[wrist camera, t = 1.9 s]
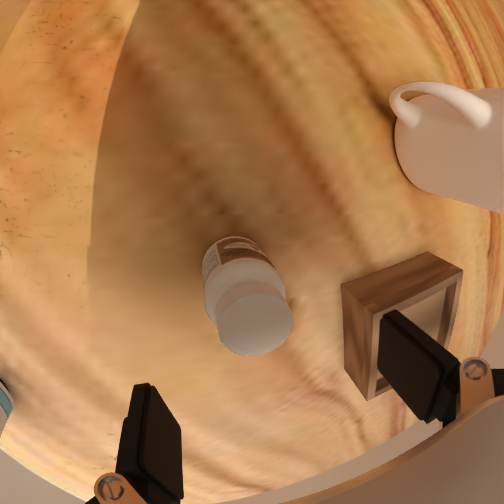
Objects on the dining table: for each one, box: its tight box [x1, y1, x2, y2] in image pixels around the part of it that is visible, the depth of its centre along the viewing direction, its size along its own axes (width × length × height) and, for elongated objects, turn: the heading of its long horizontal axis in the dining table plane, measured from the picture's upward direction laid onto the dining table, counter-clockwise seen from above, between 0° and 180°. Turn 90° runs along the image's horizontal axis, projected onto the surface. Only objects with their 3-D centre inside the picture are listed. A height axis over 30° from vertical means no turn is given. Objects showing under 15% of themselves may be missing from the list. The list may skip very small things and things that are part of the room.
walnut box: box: [341, 252, 463, 401], centre depth 22 cm, size 10×10×5 cm
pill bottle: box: [202, 236, 293, 356], centre depth 16 cm, size 4×4×8 cm
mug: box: [389, 81, 504, 215], centre depth 14 cm, size 9×12×11 cm
